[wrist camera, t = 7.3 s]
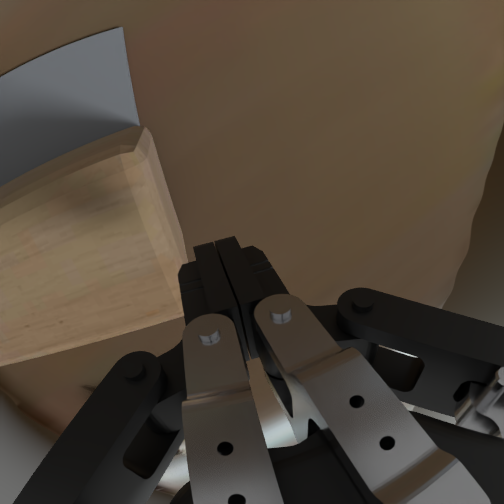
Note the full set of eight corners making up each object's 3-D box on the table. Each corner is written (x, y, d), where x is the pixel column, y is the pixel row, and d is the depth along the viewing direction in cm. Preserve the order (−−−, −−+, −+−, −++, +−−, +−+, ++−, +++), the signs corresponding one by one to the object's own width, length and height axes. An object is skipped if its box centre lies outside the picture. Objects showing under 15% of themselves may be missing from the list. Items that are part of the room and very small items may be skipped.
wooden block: (184, 236, 25) (4, 300, 22) (148, 120, 20) (-44, 214, 17) (202, 317, 17) (-28, 377, 14) (139, 140, 11) (-103, 275, 8)
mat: (-82, 137, 12) (-85, 138, 11) (122, 27, 16) (122, 26, 15) (8, 339, 25) (8, 341, 24) (186, 295, 28) (187, 298, 28)
